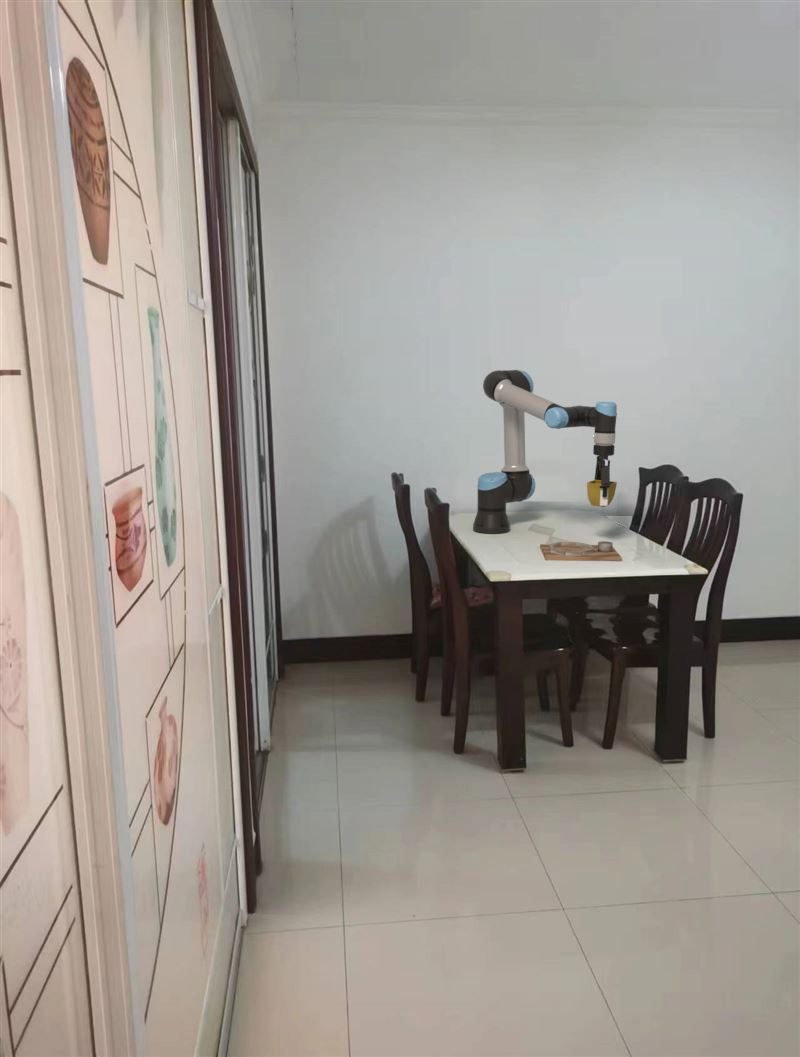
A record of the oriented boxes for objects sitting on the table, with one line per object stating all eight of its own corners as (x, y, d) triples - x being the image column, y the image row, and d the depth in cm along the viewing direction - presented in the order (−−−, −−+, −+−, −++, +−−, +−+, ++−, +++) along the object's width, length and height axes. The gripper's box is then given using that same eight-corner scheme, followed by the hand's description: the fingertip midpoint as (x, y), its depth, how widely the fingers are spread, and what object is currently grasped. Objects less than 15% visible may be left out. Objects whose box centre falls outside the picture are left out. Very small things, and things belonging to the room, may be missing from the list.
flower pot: (615, 505, 300) (617, 481, 298) (607, 508, 293) (609, 484, 291) (593, 502, 305) (594, 479, 303) (585, 506, 297) (586, 482, 296)
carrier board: (540, 547, 296) (540, 536, 295) (611, 548, 294) (611, 537, 293) (545, 560, 277) (545, 548, 276) (621, 561, 275) (622, 549, 274)
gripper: (588, 440, 305) (585, 496, 310) (599, 447, 282) (595, 508, 287) (608, 441, 305) (605, 497, 309) (620, 448, 282) (616, 508, 287)
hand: (600, 502), depth 298 cm, fingers closed on flower pot, 11 cm apart
